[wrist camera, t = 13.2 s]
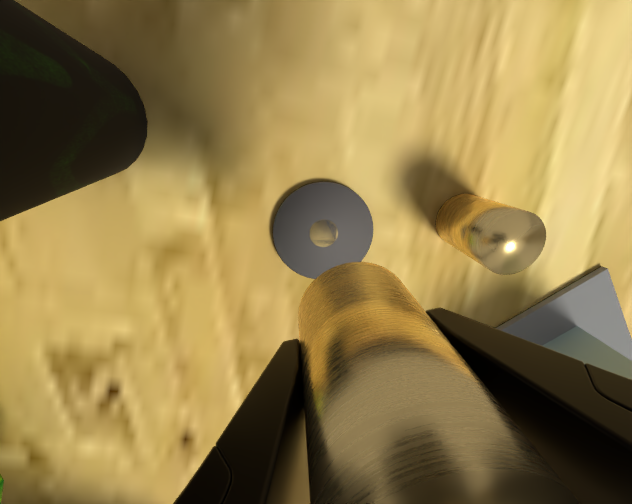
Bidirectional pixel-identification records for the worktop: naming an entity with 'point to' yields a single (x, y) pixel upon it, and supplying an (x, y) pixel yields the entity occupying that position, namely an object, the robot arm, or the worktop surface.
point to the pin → (491, 232)
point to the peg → (403, 405)
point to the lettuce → (1, 487)
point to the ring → (322, 228)
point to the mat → (576, 314)
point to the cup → (59, 113)
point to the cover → (591, 351)
